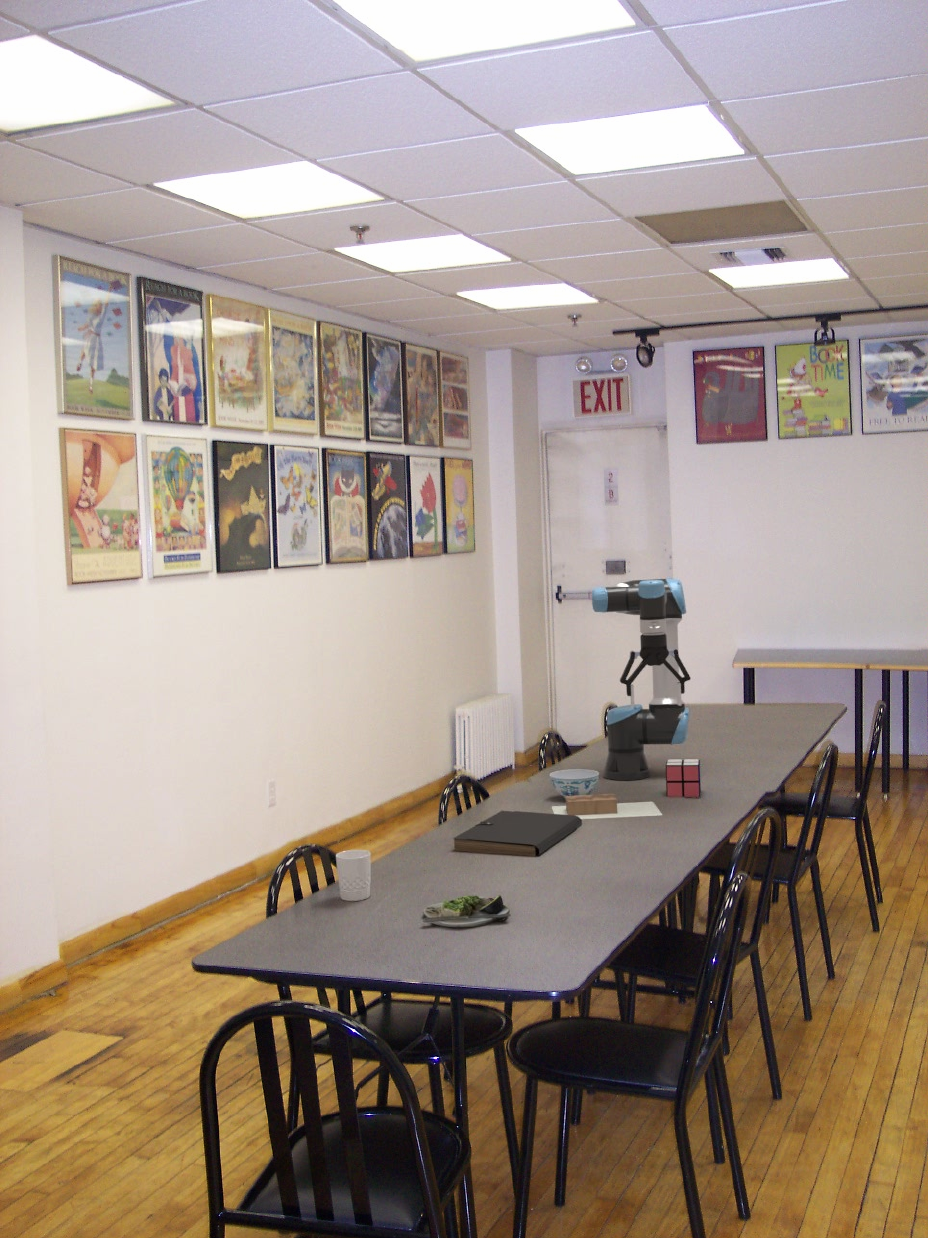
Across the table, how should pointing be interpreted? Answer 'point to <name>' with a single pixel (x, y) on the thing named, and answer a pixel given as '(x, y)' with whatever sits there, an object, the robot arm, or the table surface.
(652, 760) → the table surface
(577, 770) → the chinaware
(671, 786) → the puzzle cube
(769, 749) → the table surface
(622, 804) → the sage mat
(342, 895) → the white cup
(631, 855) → the table surface
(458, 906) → the salad plate
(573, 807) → the walnut block
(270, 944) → the table surface
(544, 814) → the file folder
